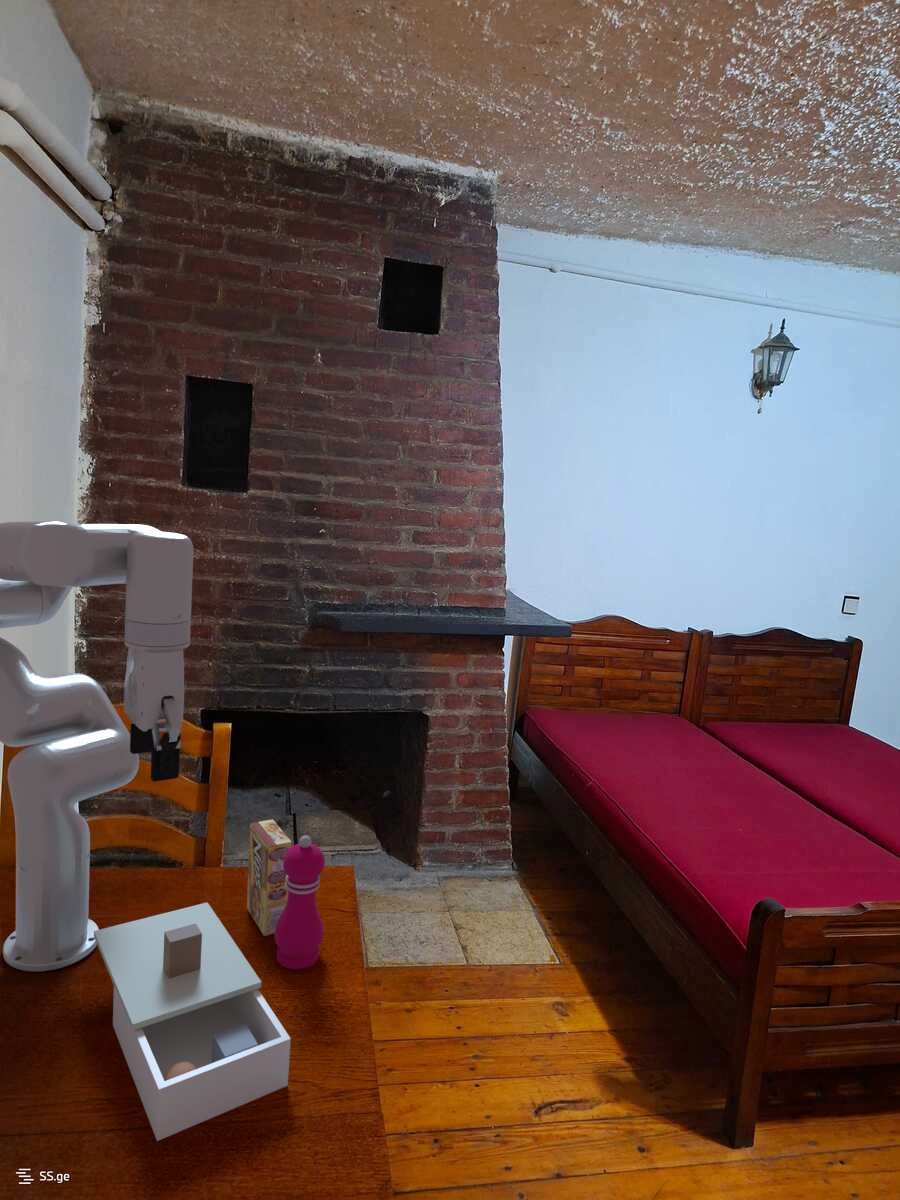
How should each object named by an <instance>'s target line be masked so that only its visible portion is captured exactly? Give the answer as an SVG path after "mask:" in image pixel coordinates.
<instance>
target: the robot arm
mask: <svg viewBox="0 0 900 1200" xmlns="http://www.w3.org/2000/svg"><path fill="white" fill-rule="evenodd" d="M193 570H194V545H193V542H192V539H191V538H189V536H187V535H185V534H183V533H182V534H181V533H177V532H168V531H162V530H159V529H158V528H155V527H153V526H150V525H146V524H138V523H137V524H136V523H132V524H131V523H130V524H129V523H128V524H127V523H125V524H122V523H119V524H118V523H73V524H72V523H70V524H68V523H65V522H64V521H59V520H49V521H48V520H47V521H46V520H45V521H44V520H43V521H42V520H41V521H6V522H0V629H8V628H16V627H26V626H34V625H35V626H36V625H40V624H43V623H46V622H48V621H50V620H51V619H52V618H53V617H54V616H56V614H57V613H58V612H59V610H60V609H61V607H62V605H63V604H64V602H65V600H66V599H67V597H68V595H69V594H70V592H71V590H72V589H73V588H79V587H94V586H104V585H116V584H117V585H118V584H119V585H121V584H122V585H123V584H126V585H125V615H124V616H125V617H124V618H125V619H124V646H126V647H127V648H128V649H127V650H128V651H127V657H126V658H127V659H126V666H125V667H126V668H125V680H124V682H125V683H124V690H123V691H124V693H123V694H124V695H123V711H124V712H125V714H126V715H127V716H128V718H129V719H130V721H131V723H130V732H129V730H128V728H127V726H126V725H125V723H124V722H123V720H122V718H121V717H120V715H119V713H118V712H117V710H116V708H115V707H114V705H113V703H112V701H111V700H110V698H109V697H108V695H107V693H106V692H105V690H104V689H103V688H102V686H101V684H100V683H98V682H97V681H96V680H95V679H94V678H92V677H91V676H89V675H87V674H84V673H79V672H78V673H76V672H74V673H73V672H72V673H71V672H70V673H65V674H64V673H63V674H58V675H57V674H56V675H52V676H42V675H40V674H38V673H37V672H36V671H35V670H34V669H33V667H32V665H31V663H30V662H29V659H28V658H27V657H26V655H25V653H23V652H22V651H21V649H20V648H18V647H16V646H15V645H14V644H12V643H11V642H10V641H8V640H6V639H4V638H3V637H0V742H1V743H2V744H3V745H4V746H7V747H14V748H19V747H25V746H27V747H25V748H23V749H22V750H21V751H19V752H18V753H17V754H16V755H15V756H13V758H12V760H11V761H10V763H9V765H8V769H7V782H8V783H7V784H8V788H9V792H10V797H11V802H12V803H11V804H12V808H13V814H14V825H15V930H14V931H13V932H11V933H10V935H9V936H8V937H7V938H6V940H5V941H4V943H3V946H2V956H3V959H4V961H5V962H6V964H8V965H9V966H10V967H12V968H14V969H17V970H20V971H24V972H47V971H53V970H57V969H61V968H62V969H63V968H65V967H68V966H70V965H73V964H75V963H76V962H79V961H80V960H83V959H84V958H85V957H87V956H89V955H90V953H91V952H93V951H94V950H95V948H97V946H98V945H97V943H96V940H95V938H94V931H96V930H100V929H99V925H97V924H96V922H94V920H92V919H90V918H89V911H90V910H89V906H90V905H89V902H90V896H89V895H90V862H91V861H90V859H91V858H90V854H91V853H90V850H91V832H90V827H89V824H88V822H87V821H86V819H85V818H84V817H83V816H82V815H81V814H80V813H79V812H77V811H76V809H75V805H76V804H77V803H79V802H81V801H83V800H86V799H88V798H91V797H95V796H98V795H101V794H105V793H107V792H110V791H113V790H116V789H119V788H121V787H124V786H125V785H127V784H128V783H130V782H131V781H132V780H133V779H134V778H135V777H136V775H137V773H138V770H139V768H140V766H139V765H140V757H139V754H145V753H150V780H151V781H152V782H154V783H155V782H161V781H162V782H163V781H167V780H174V779H177V778H179V776H180V758H181V757H180V755H181V753H180V752H181V747H182V745H181V744H182V743H181V738H182V736H181V735H182V734H181V729H182V727H183V726H182V724H183V720H184V712H185V711H184V705H185V662H184V660H185V659H184V649H187V648H188V647H190V645H191V644H190V643H191V624H192V623H191V622H192V621H191V620H192V619H191V618H192V598H193V597H192V595H193V577H194V576H193V574H194V573H193ZM160 732H163V734H162V736H161V734H160Z"/></svg>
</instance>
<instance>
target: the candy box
mask: <svg viewBox="0 0 900 1200" xmlns="http://www.w3.org/2000/svg"><path fill="white" fill-rule="evenodd" d="M248 845H249V848H248V853H249V854H248V866H247V867H248V872H247V897H246V909H247V910H248V912H249V915H250V916H251V917H252V919H253V921H254V922H255V924H256V926H257V927H258V929H259V930H260V932H261V933H262V935H263V936H264V937H266V936H270V935H275V929H276V925H277V922H278V920H279V918H280V916H281V914H282V912H283V910H284V908H285V906H286V904H287V900H288V890H287V888H286V886H285V883H286V876H287V874H286V873H285V871H284V868H283V861H284V856H285V854H286V852H287V851H288V850H289V849H290V848H291V847H292V846H293V842H292V840H291V839H290V838H289V836H287V835H286V833H285V832H284V830H282V829H281V828H280V826H279V825H278V823H277V822H276V821H275V820H274V819H267V820H262V821H257V822H256V821H255V822H250V824H249V844H248Z"/></svg>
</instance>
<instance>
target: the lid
mask: <svg viewBox="0 0 900 1200" xmlns="http://www.w3.org/2000/svg"><path fill="white" fill-rule="evenodd" d="M94 938H95V940H96V943H97V945H96V946H97V947H98V949H99V952H100V955H101V957H102V959H103V962H104V964H105V967H106V969H107V972H108V975H109V977H110V979H111V981H112V985H113V988H114V987H115V989H116V992H117V994H118V996H119V999H120V1001H121V1004H122V1006H123V1009H124V1011H125V1013H126V1016H127V1018H128V1021H129V1023H130V1026H131V1028H132V1031H133V1030H136V1029H139V1028H142V1027H145V1026H148V1025H151V1024H154V1023H157V1022H160V1021H163V1020H166V1019H169V1018H172V1017H175V1016H178V1015H181V1014H183V1013H186V1012H189V1011H192V1010H195V1009H198V1008H201V1007H204V1006H207V1005H210V1004H213V1003H216V1002H219V1001H222V1000H225V999H228V998H231V997H234V996H237V995H240V994H243V993H246V992H249V991H252V990H255V989H258V990H259V989H260V988H262V980H261V979H260V977H259V976H258V975H257V973H256V971H255V970H254V969H253V967H252V966H251V964H250V963H249V961H248V959H246V957H245V956H244V954H243V952H242V951H241V949H240V948H239V946H238V945H237V944H236V942H235V940H234V939H233V938H232V936H231V935H230V934H229V932H228V931H227V929H226V927H225V926H224V925H223V923H222V922H221V919H220V918H219V917H218V916H217V914H216V913H215V911H214V910H213V908H212V907H211V905H210V904H209V903H208V902H203V903H200V904H196V905H192V906H188V907H184V908H179V909H176V910H172V911H168V912H163V913H160V914H155V915H152V916H148V917H145V918H144V917H143V918H140V919H136V920H132V921H129V922H124V923H120V924H116V925H113V926H109V927H108V926H107V927H105V928H101V929H99V930H96V931H94Z"/></svg>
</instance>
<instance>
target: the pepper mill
mask: <svg viewBox="0 0 900 1200" xmlns="http://www.w3.org/2000/svg"><path fill="white" fill-rule="evenodd" d="M312 841H313V840H312V839H311V837H310V835H303V836H301V837H300V838H299V842H298V843H296V844H294V845H292V847H291V848H290V849H289V850H288V851H287V852H286V854H285V856H284V861H283V868H284V871H285V873H286V874H287V876H286V883H285V886H286V888H287V890H288V900H287V904H286V906H285V908H284V910H283V912H282V914H281V916H280V918H279V920H278V922H277V925H276V929H275V933H274V934H273V935H274V937H273V938H274V942H275V944H276V945H277V949H276V957H275V958H276V960H277V962H278V964H280V965H281V966H283V967H284V968H287V969H292V970H300V969H306V968H309V967H312V966H313V965H314V964H316V962H318V960H319V956H320V947H319V946H320V945H321V944H322V942H323V939H324V924H323V920H322V918H321V915H320V913H319V911H318V909H317V904H316V895H317V894H316V893H317V890H318V889H319V888H320V885H321V882H320V881H321V876H320V875H321V874H322V873H323V870H324V868H325V863H326V862H325V855H324V853H323V851H322V849H321V848H320V847H318V846H317V845H316V844H315V843H312Z"/></svg>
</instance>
